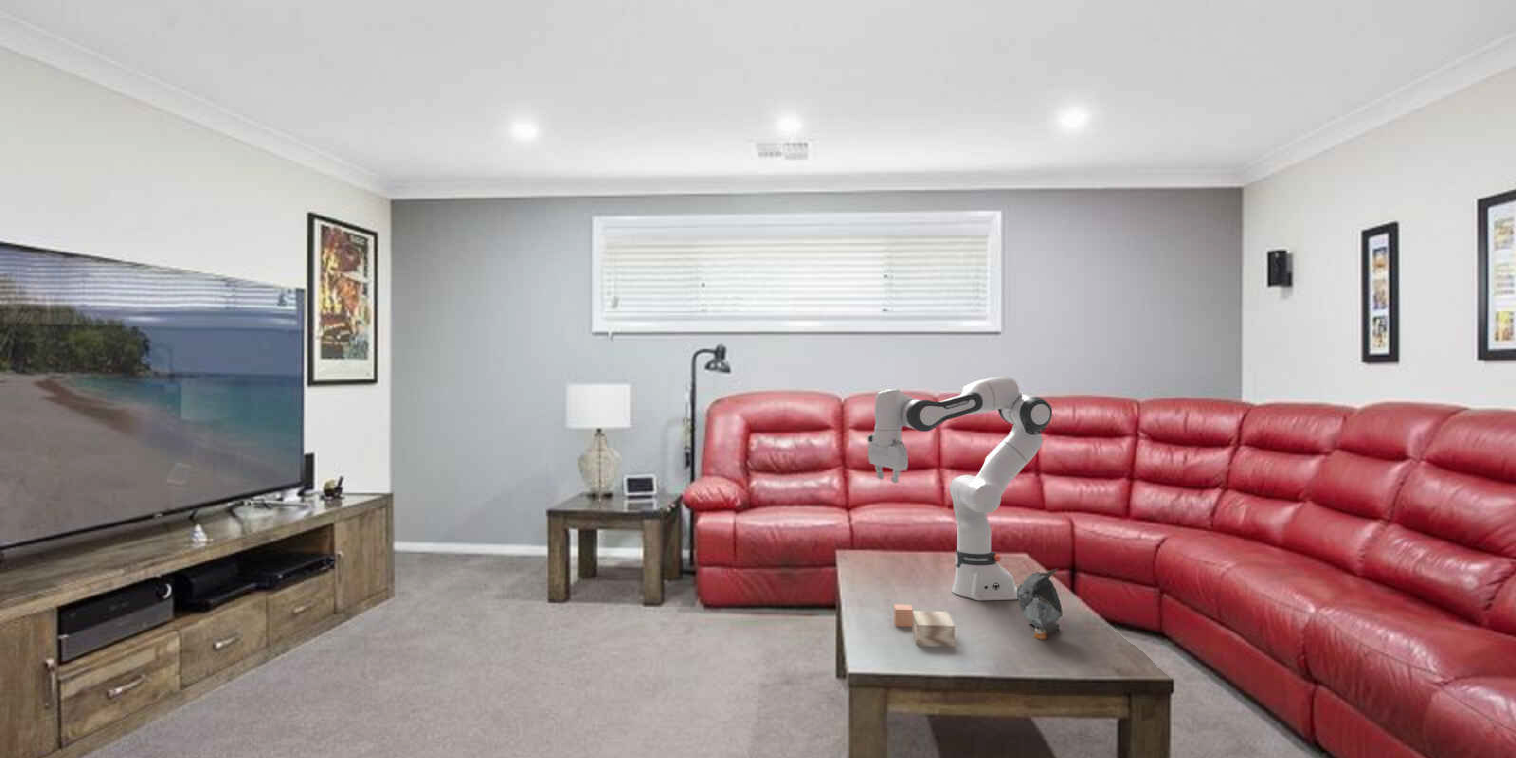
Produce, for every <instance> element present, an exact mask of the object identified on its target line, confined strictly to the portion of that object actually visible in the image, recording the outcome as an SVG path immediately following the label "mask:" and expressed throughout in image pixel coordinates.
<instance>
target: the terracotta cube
mask: <svg viewBox="0 0 1516 758" xmlns="http://www.w3.org/2000/svg"><path fill="white" fill-rule="evenodd" d="M913 611H914V610H913V606H912V605H911V604H893V623H894V626H895V627H900V628H901V627H903V628H904V627H905V628H907V627H908V628H909V627H911V628H913Z"/></svg>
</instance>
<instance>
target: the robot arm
mask: <svg viewBox="0 0 1516 758" xmlns="http://www.w3.org/2000/svg"><path fill="white" fill-rule="evenodd" d="M874 401H875V402H874V420H875V423H874V424H875V425H874V429H873V431H874V432H873V433H871V434H869V435H867V439H866V441H867V442H868V446H867V450H868V451H867V456H868V463H869V464H871V465H874V469H875V471H876V478H877V479H879V480H884V479H885V473H883V468H887V469H891V470H892V473H893V474H892V476H891V477H890V482H891V484H898V483H899V478H900V475H901V472H902V471H906V470H907V469H908V467H909V465H908V464H909V461H908V460H909V459H908V457H909V456H908V449H907V447H906V446H905V444H904V442H903V440H902V439H903V438H902V436H903V435H902V434H903V433H902V432H903V431H902V430H903V429H902V428H903V427H906V428H909V429H913V430H916V431H919V432H924V433H925V432H927V433H928V432H930V431H933V430H935V429H936V428H937V427H938V426H940V425H941V424H942V423H944V422H946V421H948V420H951V419H956V418H958V417H963V416H964V415H965V416H966V415H978V414H979V415H981V414H986V413H991V412H994V411H997V412H998V415H999V416H1000V417H1001V419H1003V420H1004V421H1005V422H1007V423H1009V424H1012V426H1011V427H1012V428H1011V431H1010V432H1009V433H1008V435H1007V436H1006V437H1004V439H1003V440H1001V441H1000V443H998V445H997V446H996V447H994V448H993V449H992V450H991V452H990V453H988V455H987V456H986V457H985V458H984V463H983V465H982V466H981V468H980V470H979V472H978V473H977V474H976V475H971V474H961V475H958V476H956V477H954V478H953V479H952V481H950V482H951V483H950V485H949V492H950V495H951V499H952V504H953V510H954V516H955V521H956V532H957V533H956V535H957V536H956V539H957V541H956V546H957V548H956V549H955V558H954V559H955V567H956V571H955V576H954V582H953V586H952V588H951V591H952V593H954V594H956V595H958V596H961V597H963V598H969V599H972V600H975V601H1003V600H1006V601H1007V600H1018V598H1017V588H1018V587H1017V586H1016V583H1015V580H1014V577H1013V575H1012V574H1011V573H1010V572H1009V571H1008V569H1007V570H1006V569H1005V568H1004V567H1003V566H1002V565H1000V564H999V563H998V562H1000V561H1001V560H1002V557H1001V556H1000V554H997V552H996V553H995V551H992V527H991V525H990V522H989V520H988V515H987V514H990V513H993V512H995V511H997V509H998V508H999V506H1000V505H1001V501H1002V496H1003V495H1004V493H1005V491H1006V489H1007V487H1008V486H1009V485H1010V483H1011V482H1012V480H1013V479H1014V478H1016V477H1017V475H1018V474H1019V473H1020V472H1021V471H1022V470H1023V469H1024V468H1025V466H1027V464H1029V462H1031V461H1032V459H1033V458H1034V456H1035V455H1036V454H1037V453H1038V452H1039V450H1040V449H1041V447H1042V445H1043V442H1044V438H1043V436H1042V433H1043V432H1045V430H1046V427H1047V426H1048V424H1049V423H1050V421H1051V419H1052V416H1053V410H1052V407H1051V405H1050V404H1049V402H1047V401H1046V400H1045V399H1044V398H1042V397H1039V396H1035V395H1032V394H1028V393H1021V392H1020V389H1019V384H1018V383H1017V382H1016V380H1015V379H1014V378H1012V377H1010V376H995V377H988V378H987V377H986V378H983V379H979V380H976V381H973V382H971V383H968V384H965V385H964V386H963V387H962V389H961V390H960V394H959V395H957V396H954V397H950V398H947V399H943V400H940V401H934V400H929V399H917V398H914V397H912V396H910V395H907V394H905V393H903V392H902V391H901V390H900V389H898V388H891V389H889V388H888V389H884V390H883V389H882V390H881V391H879V392H877V394H876V396H875V400H874Z"/></svg>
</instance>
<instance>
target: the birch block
mask: <svg viewBox="0 0 1516 758" xmlns="http://www.w3.org/2000/svg"><path fill="white" fill-rule="evenodd" d="M955 626H956V625H955V624H954V621H953V620H952V617H951V615H950V613H949V611H931V610H929V611H928V610H927V611H925V610H913V627H912V633H913V636H914V639H915V640H914V641H915V644H916V646H917V647H938V648H939V647H940V648H944V647H945V648H955V645H956V644H955V643H956V641H955V639H956V638H955V637H956V636H955Z"/></svg>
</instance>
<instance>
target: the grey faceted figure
mask: <svg viewBox="0 0 1516 758" xmlns="http://www.w3.org/2000/svg"><path fill="white" fill-rule="evenodd" d="M1057 570H1059V568H1057V567H1056V568H1055V569H1052V570H1050V571H1047V572H1039V571H1036V572H1034V573H1031V574H1030V575H1029V576H1027V577H1026V578H1025V579H1024V580H1023V582H1022V583H1021V584H1020V585H1019V586H1018V587H1016V588H1017V598H1018V599H1017V601H1018V604H1019V607H1020V609H1021V613H1022V614H1023V616H1024V618H1026V619H1027V620H1028V621H1029V622H1030V623H1029V624H1028V625H1029V626H1032V627H1034V638H1035V639H1037V640H1047V639H1048V635H1050V634H1053V633H1054V632H1057V631H1059V630H1060V623H1056V622H1058V620H1060V618H1062V617H1063V608H1062V603H1061V600H1060V598H1059V594H1058V593H1057V589H1056V587H1055V586H1054V584H1053V582H1052V581H1051V579H1050V578H1051V577H1052V576H1053V575H1054V574H1055V572H1057Z"/></svg>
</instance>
